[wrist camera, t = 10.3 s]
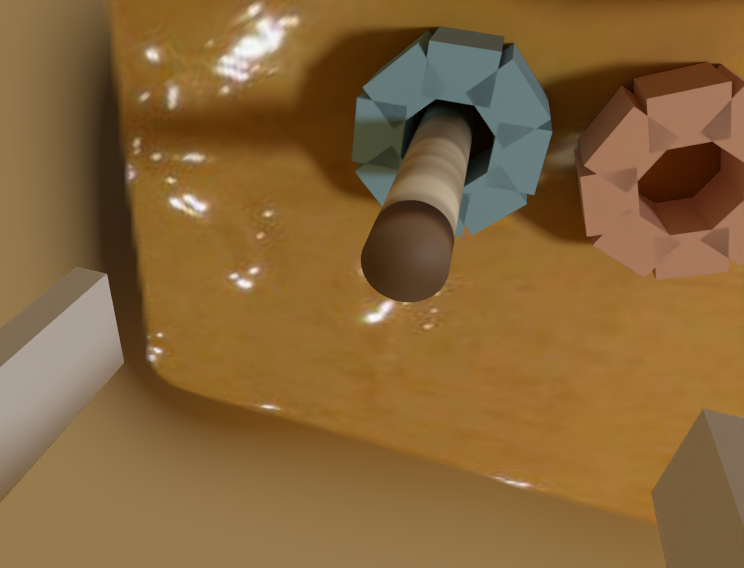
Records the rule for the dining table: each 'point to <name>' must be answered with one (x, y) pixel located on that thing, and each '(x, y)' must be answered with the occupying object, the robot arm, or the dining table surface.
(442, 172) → the wooden dowel handle
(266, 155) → the dining table surface
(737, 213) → the bead terracotta
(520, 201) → the bead
